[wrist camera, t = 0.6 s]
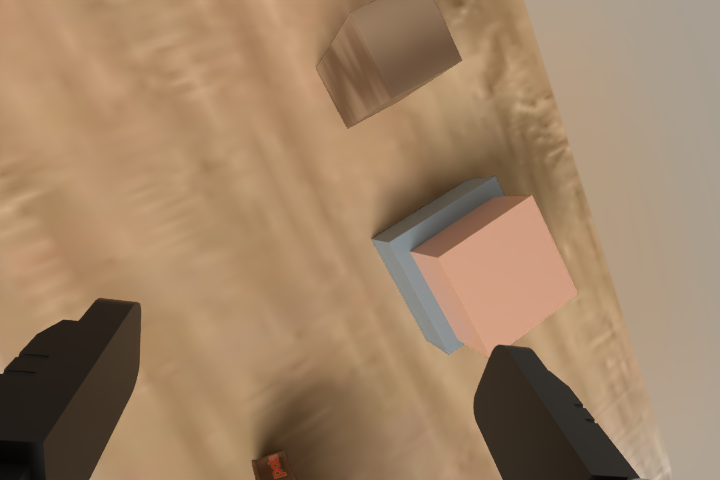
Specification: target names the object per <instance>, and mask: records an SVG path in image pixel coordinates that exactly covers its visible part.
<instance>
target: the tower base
mask: <svg viewBox="0 0 720 480" xmlns="http://www.w3.org/2000/svg"><path fill="white" fill-rule="evenodd" d="M501 196H505V195H504V193H503V191H502V189H501V186H500V184H499V182H498V180H497V178H496V176H491V177H483V178H475V179H468V180H466V181H465V182H463V183H461V184H460V185H458V186H456V187H455V188H453V189H452V190H450V191H448V192H447V193H445V194H443V195H442V196H440V197H439V198H437V199H435V200H434V201H432V202H430V203H429V204H427V205H426V206H424V207H422V208H421V209H419V210H417V211H416V212H414V213H413V214H411V215H409V216H408V217H406V218H404V219H403V220H401V221H400V222H398V223H396V224H395V225H393V226H391V227H390V228H388V229H387V230H385V231H383V232H382V233H380V234H378V235H377V236H375V237H374V238H372V239H371V240H372V242H373V244H374V245H375V247H376V249H377V251H378V253H379V255H380V256H381V258H382V260H383V262H384V264H385V266H386V267H387V269H388V271H389V273H390V275H391V277H392V278H393V280H394V282H395V284H396V286H397V287H398V289H399V291H400V293H401V295H402V297H403V298H404V300H405V302H406V304H407V306H408V308H409V309H410V311H411V313H412V315H413V317H414V319H415V320H416V322H417V324H418V326H419V328H420V330H421V331H422V333H423V335H424V337H425V339H426V340H427V341H429V342H430V343H432V344H433V345H435V346H436V347H438V348H439V349H441V350H442V351H444V352H445V353H447V354H448V355H450V354H451V353H452V352H454V351H455V350H457V349H458V348H459V347H461V346H462V345H464V343H462V342H460V341H459V340H458V339H457V337H456V336H455V334H454V332H453V330H452V328H451V326H450V324H449V323H448V321H447V319H446V317H445V315H444V313H443V312H442V310H441V308H440V306H439V304H438V302H437V301H436V299H435V297H434V295H433V293H432V291H431V290H430V288H429V286H428V284H427V282H426V280H425V279H424V277H423V275H422V273H421V271H420V269H419V268H418V266H417V264H416V262H415V260H414V258H413V257H412V255H411V253H410V251H412V250H413V249H415V248H416V247H418V246H419V245H421V244H422V243H424V242H425V241H427V240H428V239H430V238H431V237H433V236H435V235H436V234H438V233H439V232H441V231H442V230H444V229H445V228H447V227H448V226H450V225H451V224H453V223H454V222H456V221H458V220H459V219H461V218H462V217H464V216H465V215H467V214H468V213H470V212H471V211H473V210H474V209H476V208H477V207H479V206H481V205H482V204H484V203H485V202H487V201H488V200H490V199H491V198H493V197H501Z"/></svg>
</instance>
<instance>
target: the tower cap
mask: <svg viewBox="0 0 720 480" xmlns="http://www.w3.org/2000/svg"><path fill="white" fill-rule="evenodd" d="M410 253H411V255H412V257H413V258H414V260H415V262H416V264H417V266H418V268H419V269H420V271H421V273H422V275H423V277H424V279H425V280H426V282H427V284H428V286H429V288H430V290H431V291H432V293H433V295H434V297H435V299H436V301H437V302H438V304H439V306H440V308H441V310H442V312H443V313H444V315H445V317H446V319H447V321H448V323H449V324H450V326H451V328H452V330H453V332H454V334H455V336H456V337H457V339H458V340H459V341H460V342H462V343H464V344H466V345H467V346H469V347H471V348H473V349H475V350H476V351H478V352H480V353H482V354H483V355H485V356H487V357H490V355H491V352H492V350H493V349H494V347H495V346H497V345H499V344H500V345H511V344H512V343H513V342H515V341H516V340H517V339H519V338H520V337H521V336H523V335H524V334H525V333H527V332H528V331H529V330H531V329H532V328H533V327H535V326H536V325H537V324H539V323H540V322H541V321H543V320H544V319H545V318H547V317H548V316H549V315H551V314H552V313H553V312H555V311H556V310H557V309H559V308H560V307H561V306H563V305H564V304H565V303H567V302H568V301H569V300H571V299H572V298H573V297H575V296H576V295H577V294H578V292H577V290H576V288H575V286H574V284H573V282H572V279H571V277H570V275H569V273H568V271H567V269H566V267H565V264H564V262H563V260H562V258H561V256H560V254H559V252H558V249H557V247H556V245H555V243H554V241H553V239H552V236H551V234H550V232H549V230H548V228H547V226H546V224H545V221H544V219H543V217H542V215H541V213H540V211H539V209H538V206H537V204H536V202H535V200H534V198H533V196H532V195H520V196H501V197H493V198H491V199H490V200H488V201H487V202H485V203H484V204H482V205H481V206H479V207H477V208H476V209H474V210H473V211H471V212H470V213H468V214H467V215H465V216H464V217H462V218H461V219H459V220H458V221H456V222H454V223H453V224H451V225H450V226H448V227H447V228H445V229H444V230H442V231H441V232H439V233H438V234H436V235H435V236H433V237H431V238H430V239H428V240H427V241H425V242H424V243H422V244H421V245H419V246H418V247H416V248H415V249H413V250H412V251H410Z"/></svg>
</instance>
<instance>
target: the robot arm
mask: <svg viewBox="0 0 720 480" xmlns="http://www.w3.org/2000/svg"><path fill="white" fill-rule="evenodd" d="M140 333H141V306H140V303H138V302H131V301H122V300H113V299H104V298H98V299H97V300H96V301H95V302H94V303H93V304H92V305H91V307H90V308H89V309H88V310H87V312H86V313H85V314H84V315H83V316H82V318H81V319H80V320H79V321H72V320H62V321H60V322H58V323H57V324H55V325H53V326H51V327H49V328H47V329H46V330H44V331H42V332H40V333H38V334H37V335H36V336H35V337H34V338H33V339H32V340H31V341H30V342H29V343H28V345H27V346H26V347H25V348H24V349H23V350H22V351H21V352H20V353H19V357H15V359H14V360H13V361H12V362H11V363H10V364H9V365H8V366H7V367H6V368H5V369H4V373H3V374H0V480H89V479H90V477H91V475H92V473H93V471H94V469H95V467H96V465H97V463H98V461H99V459H100V457H101V455H102V453H103V451H104V449H105V447H106V445H107V443H108V441H109V439H110V437H111V435H112V433H113V431H114V429H115V427H116V425H117V423H118V421H119V419H120V417H121V415H122V412H123V410H124V408H125V406H126V404H127V402H128V400H129V398H130V396H131V394H132V392H133V389H134V387H135V383H136V380H137V376H138V371H139V363H140ZM474 416H475V420H476V422H477V425H478V427H479V429H480V431H481V433H482V435H483V438H484V440H485V442H486V444H487V446H488V448H489V451H490V453H491V455H492V457H493V459H494V462H495V464H496V466H497V468H498V470H499V472H500V475H501V477H502V479H503V480H648V479H641V478H640V477H639V476H638V475H637V473H636V472H635V471H634V469H633V468H632V467H631V466H630V464H629V463H628V462H627V460H626V459H625V458H624V457H623V455H622V454H621V453H620V452H619V450H618V449H617V448H616V446H615V445H614V444H613V443H612V441H611V440H610V439H609V437H608V436H607V435H606V434H605V432H604V431H603V430H602V428H601V427H600V426H599V425H598V423H595V422H594V420H595V419H594V418H593V417H592V416H591V414H590V413H589V412H588V411H587V409H586V408H583V404H582V403H581V402H580V400H579V399H578V398H577V396H576V395H575V394H574V393H573V391H572V390H571V389H570V387H569V386H567V385H566V384H565V383H564V382H562V381H561V380H560V379H559V378H558V377H556V376H555V375H554V374H553V373H551V372H550V371H548V370H547V368H546V367H545V366H544V364H543V363H542V362H541V360H540V359H539V358H538V356H537V355H536V354H535V352H534V351H533V350H532V349H530V348H527V347H518V346H510V345H500V344H499V345H497V346H495V347H494V349H493V350H492V352H491V355H490V357H489V360H488V362H487V365H486V368H485V370H484V373H483V375H482V378H481V380H480V383H479V385H478V388H477V391H476V393H475V397H474Z"/></svg>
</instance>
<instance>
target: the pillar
mask: <svg viewBox="0 0 720 480" xmlns="http://www.w3.org/2000/svg"><path fill="white" fill-rule="evenodd" d="M461 61H462V59H461V56H460V54H459V52H458V50H457V48H456V45H455V43H454V41H453V39H452V37H451V34H450V32H449V30H448V28H447V26H446V23H445V21H444V19H443V17H442V14H441V12H440V10H439V8H438V6H437V3H436V1H435V0H376V1H374V2H372V3H370V4H367V5H365V6H363V7H361V8H359V9H357V10H355V11H353V12H350V14H349V16H348V17H347V19H346V21H345V22H344V24H343V26H342V27H341V29H340V30H339V32H338V34H337V35H336V37H335V39H334V40H333V42H332V43H331V45H330V47H329V48H328V50H327V52H326V53H325V55H324V57H323V58H322V60H321V61H320V63H319V65H318V66H317V68H316V70H317V72H318V74H319V76H320V78H321V80H322V81H323V83H324V85H325V87H326V89H327V91H328V93H329V95H330V97H331V99H332V101H333V102H334V104H335V106H336V108H337V110H338V112H339V114H340V116H341V118H342V120H343V121H344V123H345V125H346V127H347V129H348V128H350V127H352V126H354V125H355V124H357V123H359V122H361V121H363V120H365V119H367V118H368V117H370V116H372V115H374V114H376V113H378V112H380V111H381V110H383V109H385V108H387V107H389V106H391V105H393V104H394V103H396V102H398V101H400V100H402V99H403V98H405V97H406V96H408V95H409V94H411V93H412V92H414V91H416V90H417V89H419V88H420V87H422V86H423V85H425V84H426V83H428V82H430V81H431V80H433V79H434V78H436V77H437V76H439V75H440V74H442V73H444V72H445V71H447V70H448V69H450V68H451V67H453V66H454V65H456V64H458V63H459V62H461Z"/></svg>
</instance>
